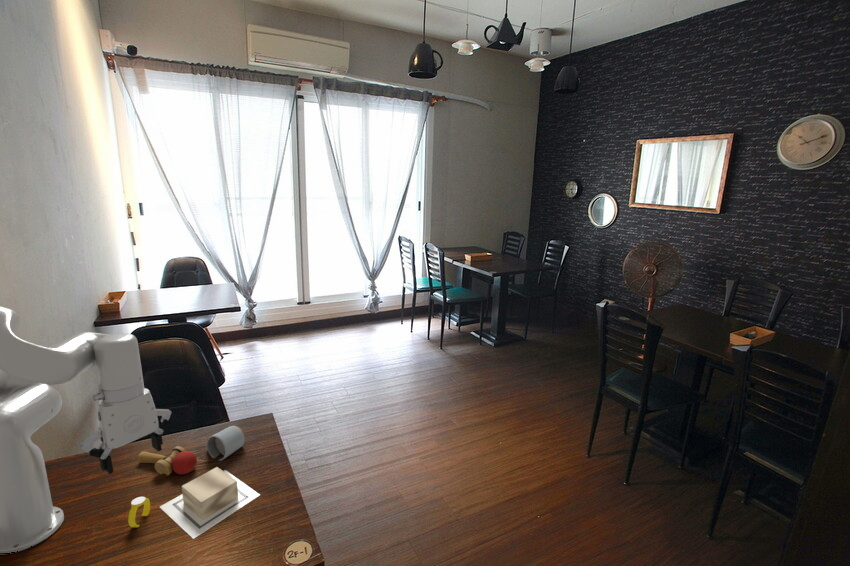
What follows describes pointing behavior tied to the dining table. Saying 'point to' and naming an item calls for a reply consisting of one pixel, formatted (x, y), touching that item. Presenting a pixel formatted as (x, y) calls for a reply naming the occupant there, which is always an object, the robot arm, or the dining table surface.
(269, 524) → the dining table surface
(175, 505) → the mat
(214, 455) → the grey hollow cylinder
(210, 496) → the birch block
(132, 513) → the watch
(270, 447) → the dining table surface
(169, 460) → the kendama
